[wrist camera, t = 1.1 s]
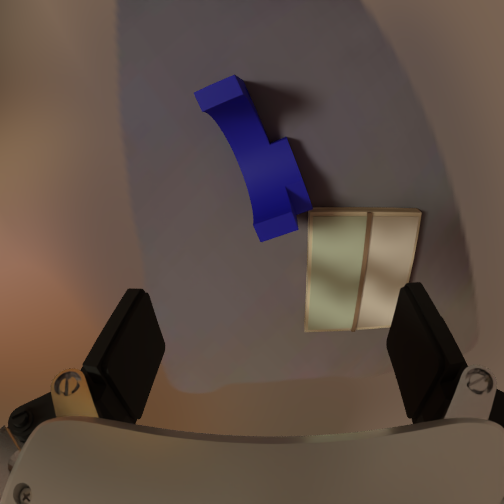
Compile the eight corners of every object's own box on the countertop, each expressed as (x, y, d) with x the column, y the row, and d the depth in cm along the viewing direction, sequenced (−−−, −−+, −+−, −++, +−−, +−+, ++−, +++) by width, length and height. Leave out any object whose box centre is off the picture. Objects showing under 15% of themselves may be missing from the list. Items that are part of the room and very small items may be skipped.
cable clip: (309, 197, 28) (317, 223, 22) (263, 213, 29) (260, 242, 23) (259, 74, 23) (255, 66, 17) (210, 94, 24) (193, 92, 19)
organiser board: (308, 207, 28) (309, 213, 27) (416, 208, 27) (423, 213, 26) (304, 325, 34) (305, 333, 33) (394, 320, 33) (397, 328, 32)
